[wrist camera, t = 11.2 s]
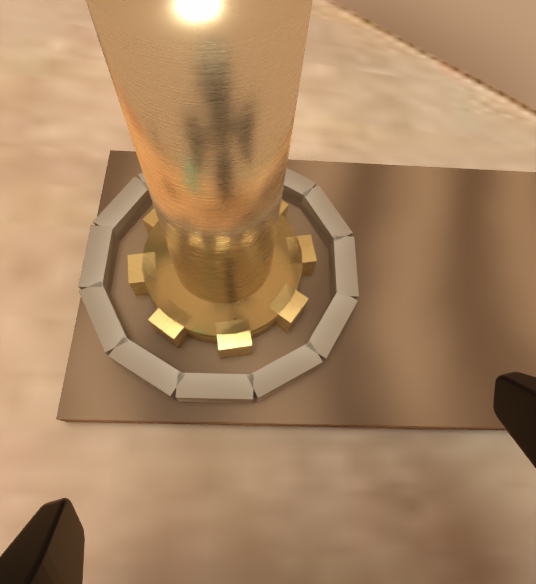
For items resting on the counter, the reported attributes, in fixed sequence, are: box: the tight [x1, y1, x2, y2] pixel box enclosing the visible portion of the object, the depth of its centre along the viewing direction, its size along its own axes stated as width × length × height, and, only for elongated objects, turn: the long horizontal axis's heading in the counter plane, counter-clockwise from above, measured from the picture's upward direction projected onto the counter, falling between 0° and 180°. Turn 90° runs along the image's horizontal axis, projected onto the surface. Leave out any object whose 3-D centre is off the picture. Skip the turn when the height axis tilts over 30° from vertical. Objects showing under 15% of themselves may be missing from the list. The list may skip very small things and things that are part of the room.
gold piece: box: [86, 0, 317, 359], centre depth 14 cm, size 8×8×14 cm
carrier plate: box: [56, 150, 536, 430], centre depth 20 cm, size 26×14×2 cm, turn 89°
